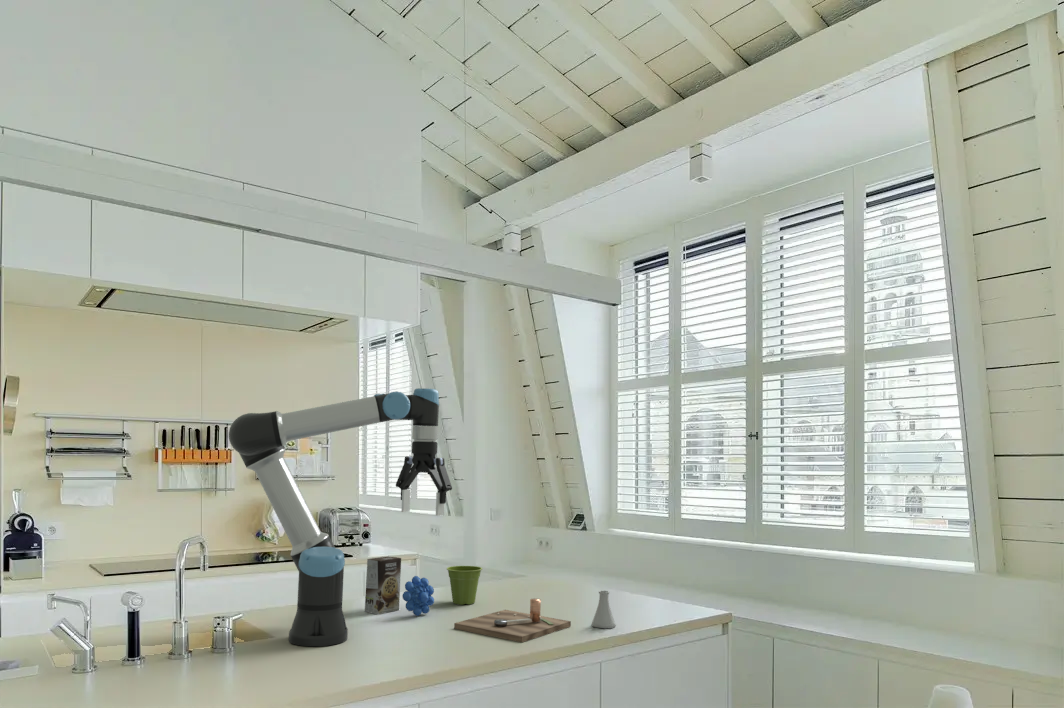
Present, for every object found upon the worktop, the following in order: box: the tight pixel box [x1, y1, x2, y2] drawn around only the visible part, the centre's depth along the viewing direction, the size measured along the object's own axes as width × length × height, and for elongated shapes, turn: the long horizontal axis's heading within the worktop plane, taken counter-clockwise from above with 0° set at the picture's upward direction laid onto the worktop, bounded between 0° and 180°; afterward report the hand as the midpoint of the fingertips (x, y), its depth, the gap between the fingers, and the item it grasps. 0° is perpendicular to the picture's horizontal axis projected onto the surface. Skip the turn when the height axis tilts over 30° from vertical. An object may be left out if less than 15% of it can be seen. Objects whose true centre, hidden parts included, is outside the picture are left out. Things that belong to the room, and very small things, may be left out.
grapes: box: [402, 575, 435, 617], centre depth 247 cm, size 12×7×12 cm, turn 134°
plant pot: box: [446, 565, 483, 606], centre depth 268 cm, size 12×12×11 cm
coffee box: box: [364, 556, 402, 615], centre depth 254 cm, size 9×6×16 cm
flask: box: [591, 590, 616, 629], centre depth 240 cm, size 7×7×10 cm
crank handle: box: [494, 597, 542, 626], centre depth 233 cm, size 15×4×6 cm, turn 117°
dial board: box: [453, 609, 572, 643], centre depth 235 cm, size 24×24×2 cm
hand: (422, 513), depth 239 cm, fingers open, 13 cm apart
